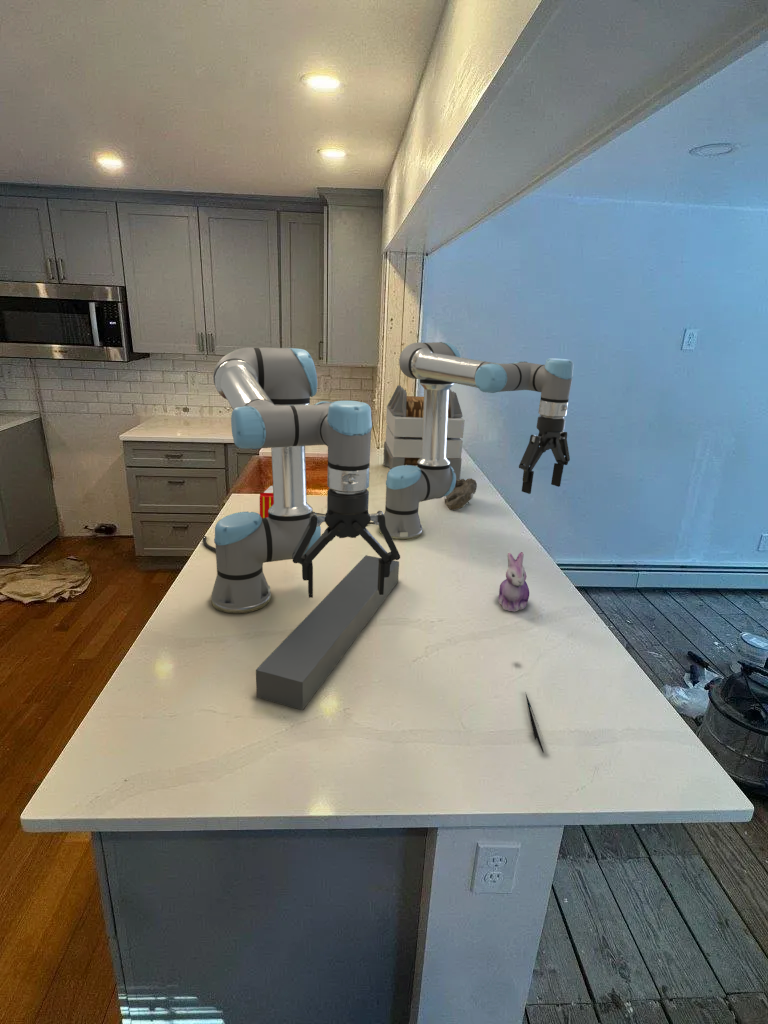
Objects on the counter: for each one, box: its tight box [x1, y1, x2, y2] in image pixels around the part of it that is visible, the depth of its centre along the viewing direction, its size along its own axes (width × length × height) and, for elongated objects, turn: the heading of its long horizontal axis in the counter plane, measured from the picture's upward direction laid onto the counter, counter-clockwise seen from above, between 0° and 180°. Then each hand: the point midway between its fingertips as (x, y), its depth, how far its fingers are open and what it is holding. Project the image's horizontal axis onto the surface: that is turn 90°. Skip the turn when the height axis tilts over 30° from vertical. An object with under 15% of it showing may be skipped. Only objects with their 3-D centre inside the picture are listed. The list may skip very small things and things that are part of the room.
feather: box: [525, 691, 547, 753], centre depth 115 cm, size 2×28×2 cm
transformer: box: [383, 384, 465, 480], centre depth 268 cm, size 34×33×41 cm
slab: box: [255, 554, 400, 711], centre depth 138 cm, size 60×10×6 cm, turn 161°
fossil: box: [444, 477, 478, 511], centre depth 233 cm, size 22×10×15 cm
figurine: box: [497, 551, 530, 612], centre depth 152 cm, size 9×10×15 cm
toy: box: [259, 485, 274, 518], centre depth 208 cm, size 12×13×30 cm
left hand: (345, 593), depth 110 cm, fingers open, 13 cm apart
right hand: (541, 489), depth 165 cm, fingers open, 13 cm apart
